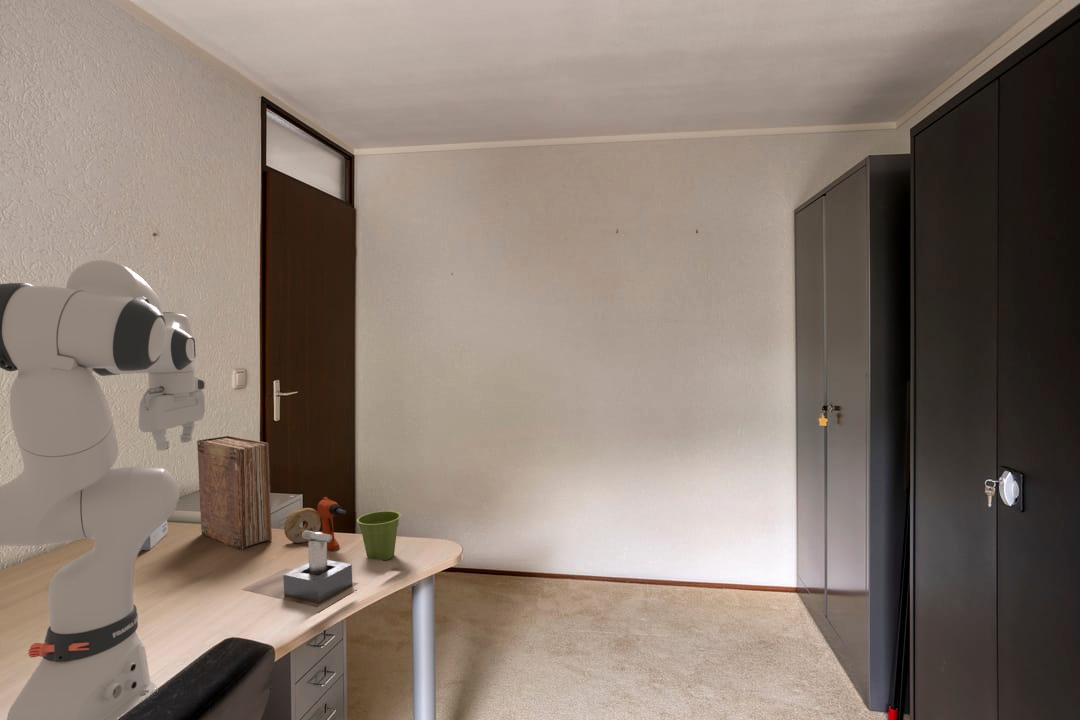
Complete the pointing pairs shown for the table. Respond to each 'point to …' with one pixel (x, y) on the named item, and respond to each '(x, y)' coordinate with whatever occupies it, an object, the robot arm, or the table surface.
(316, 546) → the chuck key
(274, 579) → the beige thin flat slab
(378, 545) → the plant pot
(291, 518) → the stone disc
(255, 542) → the book
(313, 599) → the square socket block
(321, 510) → the toy drill
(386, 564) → the table surface
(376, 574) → the table surface
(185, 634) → the table surface
